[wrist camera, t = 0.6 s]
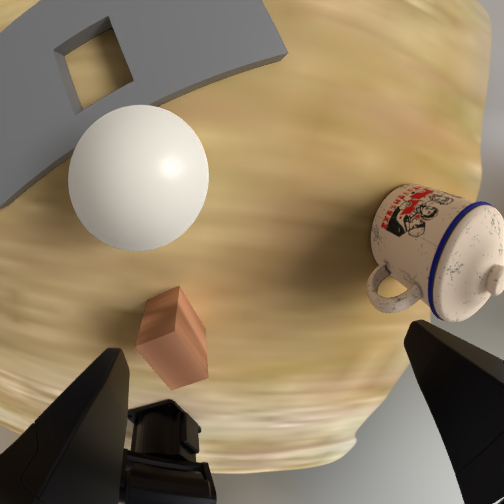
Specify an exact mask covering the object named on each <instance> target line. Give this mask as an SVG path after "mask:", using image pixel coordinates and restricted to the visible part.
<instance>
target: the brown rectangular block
mask: <svg viewBox="0 0 504 504" xmlns="http://www.w3.org/2000/svg"><path fill="white" fill-rule="evenodd" d="M135 347H136V349H137V350H138V351H139V353H140V354H141V355H142V356H143V358H144V359H145V360H146V361H147V363H148V364H149V365H150V366H151V367H152V369H153V370H154V371H155V372H156V373H157V374H158V376H159V377H160V378H161V379H162V380H163V381H164V383H165V384H166V385H167V386H168V387H169V388H170V389H171V390H174V389H177V388H180V387H183V386H186V385H189V384H192V383H195V382H198V381H201V380H204V379H207V378H209V377H208V364H207V348H206V331H205V327H204V325H203V324H202V322H201V321H200V319H199V317H198V316H197V314H196V312H195V311H194V309H193V307H192V306H191V304H190V302H189V301H188V299H187V297H186V296H185V294H184V292H183V291H182V289H181V287H180V286H179V287H176V288H174V289H172V290H170V291H167V292H165V293H163V294H161V295H158V296H156V297H154V298H151V299H149V300H148V301H147V304H146V308H145V311H144V315H143V318H142V322H141V325H140V329H139V333H138V337H137V340H136V344H135Z"/></svg>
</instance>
